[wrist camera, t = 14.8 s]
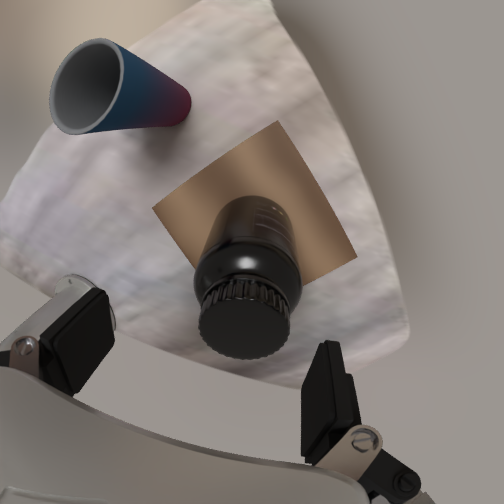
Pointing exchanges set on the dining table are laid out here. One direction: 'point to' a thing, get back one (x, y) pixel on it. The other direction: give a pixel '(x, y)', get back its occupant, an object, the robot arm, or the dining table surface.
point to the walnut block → (266, 185)
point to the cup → (113, 91)
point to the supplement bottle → (248, 279)
